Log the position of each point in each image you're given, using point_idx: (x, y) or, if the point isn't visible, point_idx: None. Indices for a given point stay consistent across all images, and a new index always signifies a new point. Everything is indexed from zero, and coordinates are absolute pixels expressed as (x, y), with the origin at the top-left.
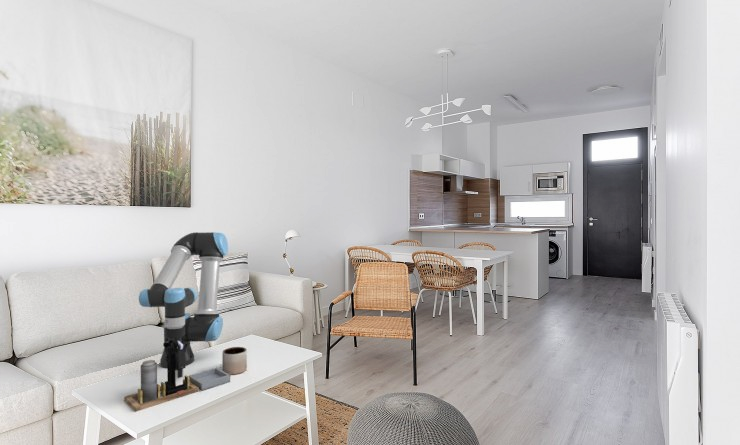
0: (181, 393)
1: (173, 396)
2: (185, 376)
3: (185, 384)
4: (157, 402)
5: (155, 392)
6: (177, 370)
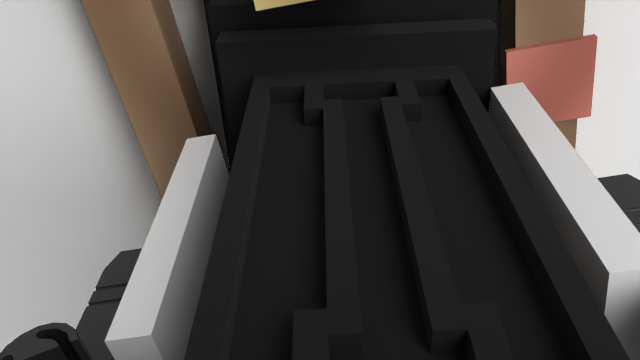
0: (579, 81)
1: None
2: (296, 1)
3: (492, 25)
4: None
5: None
6: (633, 346)
